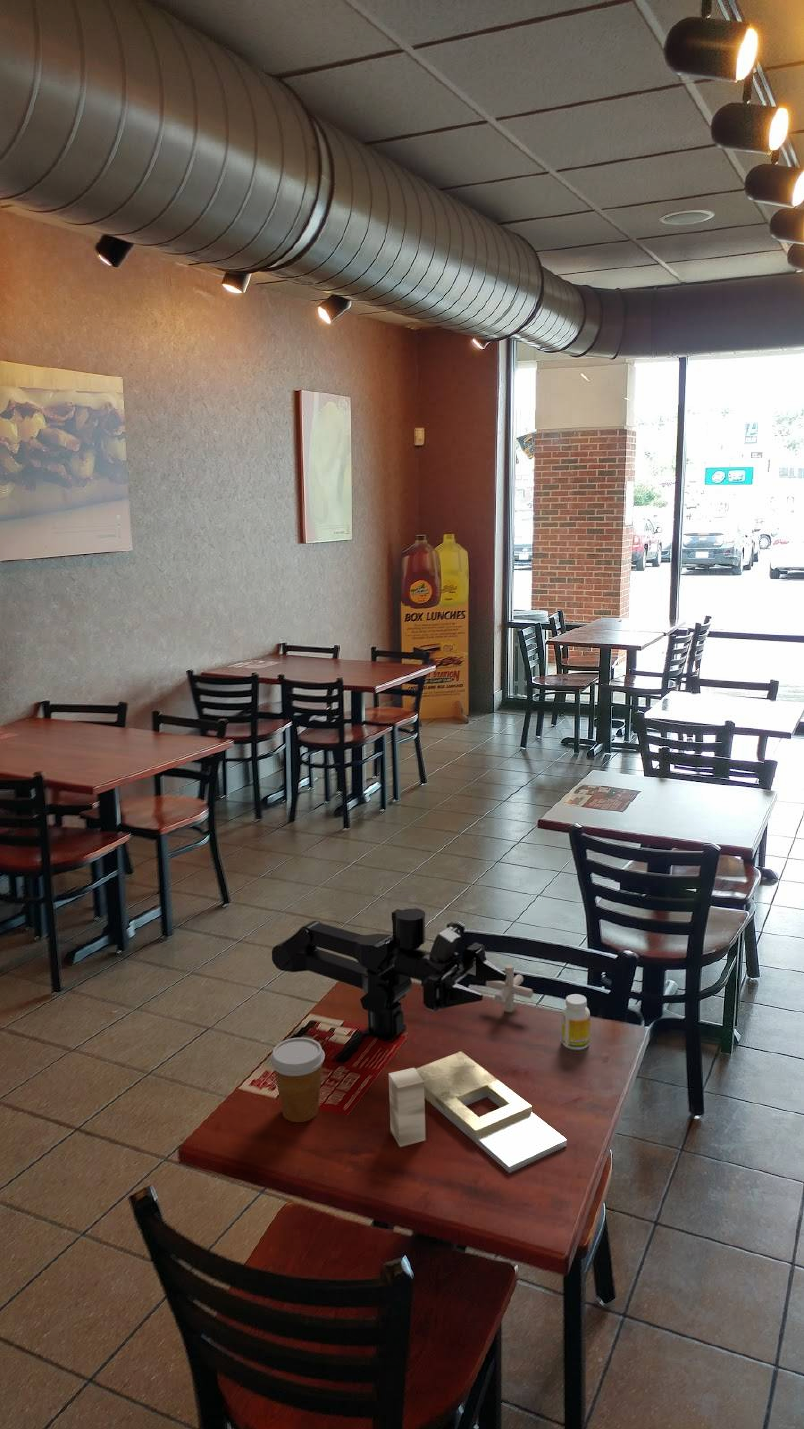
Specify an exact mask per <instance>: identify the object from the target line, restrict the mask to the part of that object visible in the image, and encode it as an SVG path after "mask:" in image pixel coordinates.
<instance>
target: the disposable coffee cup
mask: <svg viewBox="0 0 804 1429" xmlns="http://www.w3.org/2000/svg"><path fill="white" fill-rule="evenodd" d="M325 1056H326V1054H325V1051H324V1050H323V1049H322V1045H321V1044H320V1043H319V1041H317V1040H315V1039H312V1038H308V1037H293V1038H288V1039H285V1040H283V1041H280V1042H279V1043H278V1044H276V1045H275V1046H274V1048H273V1050H272V1053H271V1055H270V1057H269V1058H270V1059H269V1061H270V1065H271V1066H272V1068H273V1072H274V1076H275V1081H276V1087H277V1091H278V1092H277V1093H278V1096H279V1097H278V1098H279V1102H280V1107H281V1111H282V1116H283V1117H284V1119H286V1121H287V1120H288V1121H289V1122H294V1123H304V1122H308V1121H310V1120H312V1119H314V1118H315V1117H316V1116H317V1115H318V1113H319V1105H320V1093H321V1083H322V1082H321V1081H322V1071H323V1064H324V1060H325V1058H326V1057H325Z"/></svg>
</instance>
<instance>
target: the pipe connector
mask: <svg viewBox="0 0 804 1429" xmlns="http://www.w3.org/2000/svg"><path fill="white" fill-rule="evenodd" d="M504 973H505V974H506V975H507V979H506V980H504V981H485V986H486V987H487V988H490V989H494V990H498V992H497V993H496V994H495V995H494V1000H495V1002H496V1003H498V1004H500V1003H503V1001H504V1012H506V1013H513V1012H514V1010H515V1008H514V1004H515V1003H514V1001H515V1000H514V999H515V998H514V997H515V996H514V995H517V996H519V997H524V998H528V999H531V998H532V997H533V994H534V991H533V990H534V989H532V988H528V987H524V986H520V985H521V984H522V983H523V982H524V977H523V975H522V974H516V975H514V973H515V971H514V965H513V964H511V963H510V964H509V963H508V964H505V965H504Z"/></svg>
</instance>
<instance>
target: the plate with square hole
mask: <svg viewBox="0 0 804 1429" xmlns="http://www.w3.org/2000/svg"><path fill="white" fill-rule="evenodd" d="M415 1069H416V1071H417V1072H418V1074H419V1075H420V1077H421V1078H422V1080H423V1081H424V1100H426V1101H427V1102H428V1103H430V1104H431V1105H432V1106H433V1107H435V1109H436V1110H437V1111H439V1112H440V1113H441V1114H442V1115H443V1116H444V1117H445V1118H447V1119H448V1120H449V1121H450V1122H451V1123H452V1124H454V1126H455V1127H457V1128H458V1130H460V1131H461V1132H462V1133H464V1135H465V1136H467V1137H468V1138H469V1139H470V1140H472V1142H474V1143H475V1144H476V1145H477V1146H478V1148H480V1149H481V1150H483V1151H484V1152H485V1153H486V1154H487V1155H488V1156H489V1157H490V1158H492V1159H493V1160H494V1161H495V1162H496V1163H497V1164H498V1165H500V1167H502V1168H503V1169H504V1170H505V1171H506V1172H507V1173H508V1174H511V1173H512V1172H513V1173H514V1172H515V1171H518V1170H519V1169H520V1168H521V1169H522V1168H523V1167H525V1166H527V1165H529V1164H531V1163H534V1162H536V1161H537V1160H540V1159H542V1158H545V1157H546V1156H548V1155H550V1154H552V1153H555V1152H556V1151H559V1150H561V1149H563V1148H565V1147H567V1142H568V1141H567V1140H568V1139H566V1138H565V1137H564V1136H563V1135H561V1134H560V1133H559V1132H558V1131H556V1130H555V1129H554V1128H553V1127H551V1126H550V1125H548V1124H547V1123H546V1122H545V1121H544V1120H542V1119H541V1118H540V1117H539V1116H537V1115H536V1114H535V1113H533V1110H532V1109H533V1107H532V1105H531V1104H530V1103H528V1102H527V1101H526V1100H524V1099H523V1098H522V1097H520V1096H519V1095H518V1094H517V1093H515V1092H514V1091H513V1090H512V1089H510V1088H509V1087H508V1086H506V1085H505V1084H504V1083H503V1082H501V1081H500V1080H499V1079H497V1078H496V1077H495V1076H493V1075H492V1074H491V1073H490V1072H488V1071H487V1070H486V1069H485V1068H483V1067H482V1066H481V1065H479V1064H478V1063H477V1062H475V1061H474V1060H473V1059H471V1058H470V1057H469V1056H468V1055H466V1054H465V1053H464V1052H463V1051H459V1052H456V1053H453V1054H451V1055H448V1056H445V1057H443V1058H440V1059H437V1060H435V1061H432V1062H430V1063H427V1064H424V1065H422V1066H420V1067H419V1066H418V1067H417V1068H415ZM485 1098H487V1099H489V1100H490V1101H491V1102H492V1103H494V1105H496V1106H498V1109H496V1110H493V1111H490V1112H487V1113H486V1114H483V1115H481V1116H478V1115H477V1114H475V1113H474V1112H473V1111H472V1110H471V1109H470V1108H468V1107H467V1106H469V1105H471V1104H473V1103H476V1102H479V1101H480V1100H483V1099H485Z"/></svg>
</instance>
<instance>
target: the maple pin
mask: <svg viewBox="0 0 804 1429" xmlns="http://www.w3.org/2000/svg"><path fill="white" fill-rule="evenodd" d="M388 1088H389V1089H388V1092H389V1094H388V1095H389V1117H390V1118H389V1119H390V1121H389V1124H390V1125H389V1126H390V1133H391V1135H392V1136H393V1138H394V1139H395V1141H396V1143H397V1145H398V1146H399V1147H400V1148H402V1147H406V1146H410V1145H413V1144H416V1143H417V1144H418V1143H420V1142H425V1141H426V1112H425V1111H426V1110H425V1106H426V1105H425V1104H426V1103H425V1100H426V1099H425V1098H424V1081H423V1080H422V1078H421V1077H420V1075H419V1074H418V1072H417V1071H416V1068H415V1067H410V1068H407V1069H402V1070H398V1071H393V1072H389V1073H388Z"/></svg>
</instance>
